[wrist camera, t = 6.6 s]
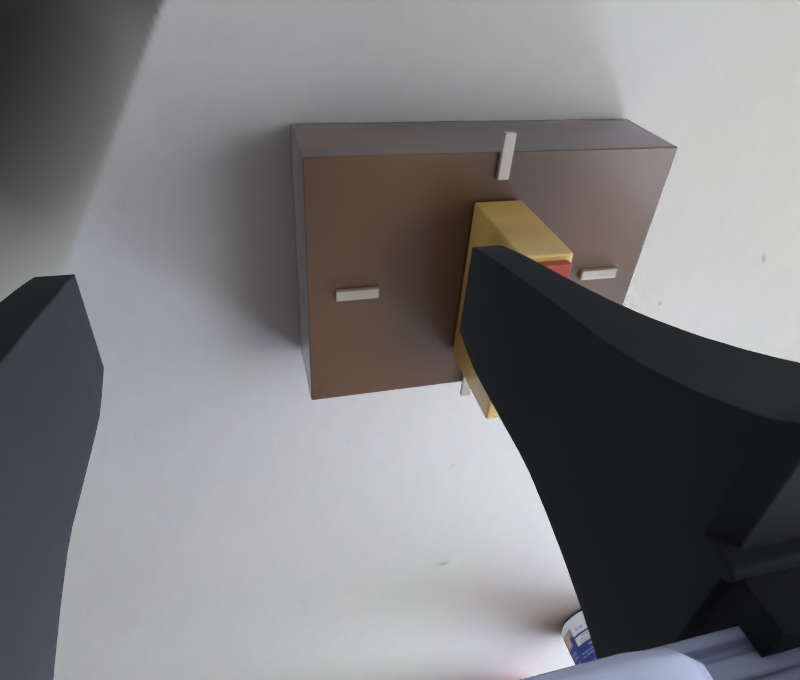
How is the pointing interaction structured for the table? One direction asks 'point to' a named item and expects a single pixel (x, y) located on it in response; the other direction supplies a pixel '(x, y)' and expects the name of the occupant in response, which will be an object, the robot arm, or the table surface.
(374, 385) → the lock plate
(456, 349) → the handle
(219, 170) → the table surface
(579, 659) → the pill bottle
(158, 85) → the table surface
